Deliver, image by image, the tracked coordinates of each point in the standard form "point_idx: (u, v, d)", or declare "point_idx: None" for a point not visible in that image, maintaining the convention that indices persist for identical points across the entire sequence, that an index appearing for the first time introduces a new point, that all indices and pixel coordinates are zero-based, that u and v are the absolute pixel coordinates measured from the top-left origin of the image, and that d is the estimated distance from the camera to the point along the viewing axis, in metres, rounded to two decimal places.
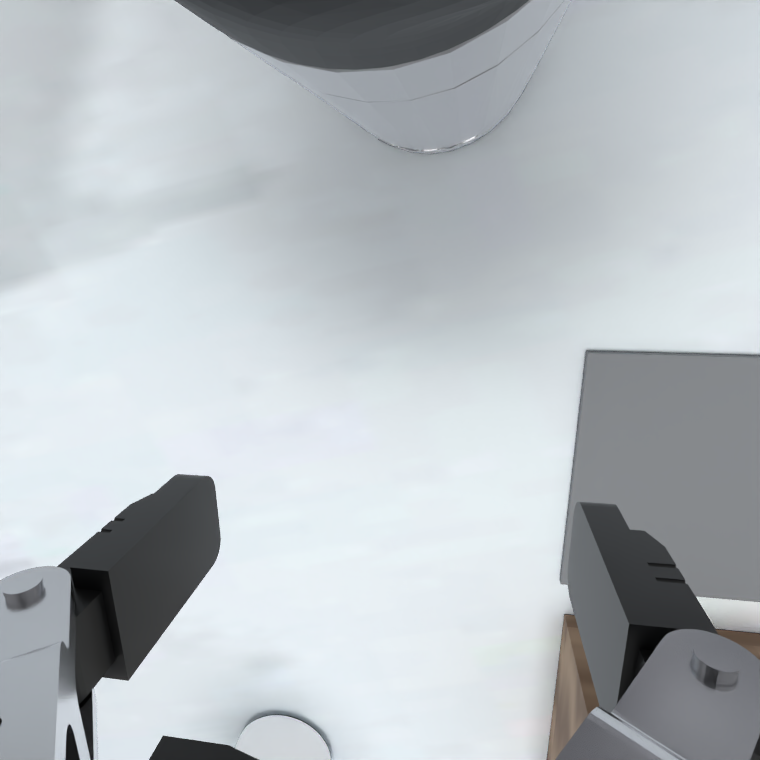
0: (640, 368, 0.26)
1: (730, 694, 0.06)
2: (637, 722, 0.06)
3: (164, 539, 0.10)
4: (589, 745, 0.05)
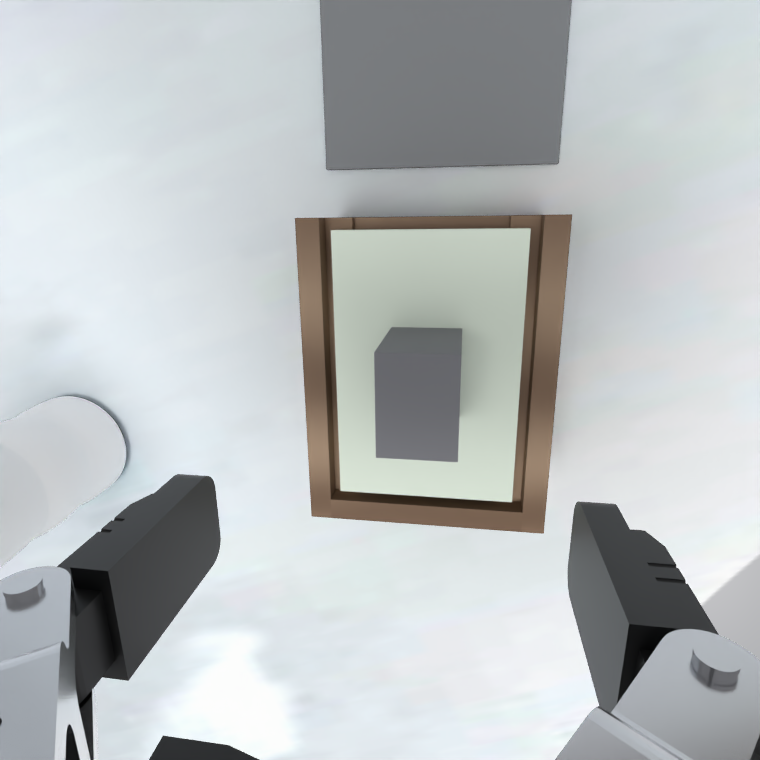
0: None
1: (730, 694, 0.06)
2: (637, 722, 0.06)
3: (165, 539, 0.10)
4: (589, 745, 0.05)
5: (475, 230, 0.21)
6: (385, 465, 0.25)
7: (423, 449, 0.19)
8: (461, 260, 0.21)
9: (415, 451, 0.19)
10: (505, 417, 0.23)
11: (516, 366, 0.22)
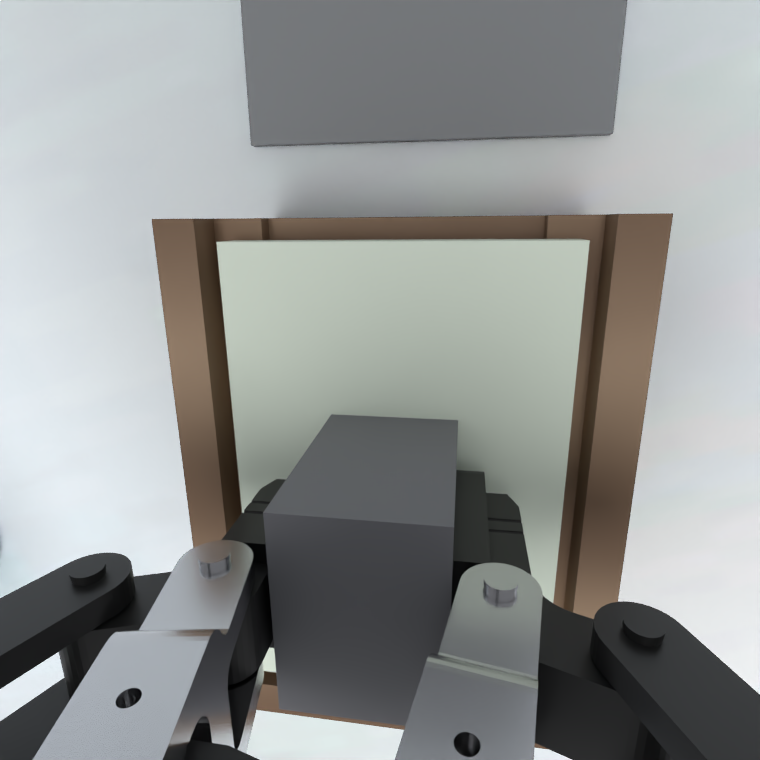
0: None
1: (500, 606, 0.07)
2: (459, 655, 0.07)
3: None
4: (433, 688, 0.06)
5: (482, 243, 0.11)
6: None
7: (375, 702, 0.09)
8: (456, 299, 0.11)
9: (358, 705, 0.09)
10: (534, 572, 0.13)
11: (555, 488, 0.12)
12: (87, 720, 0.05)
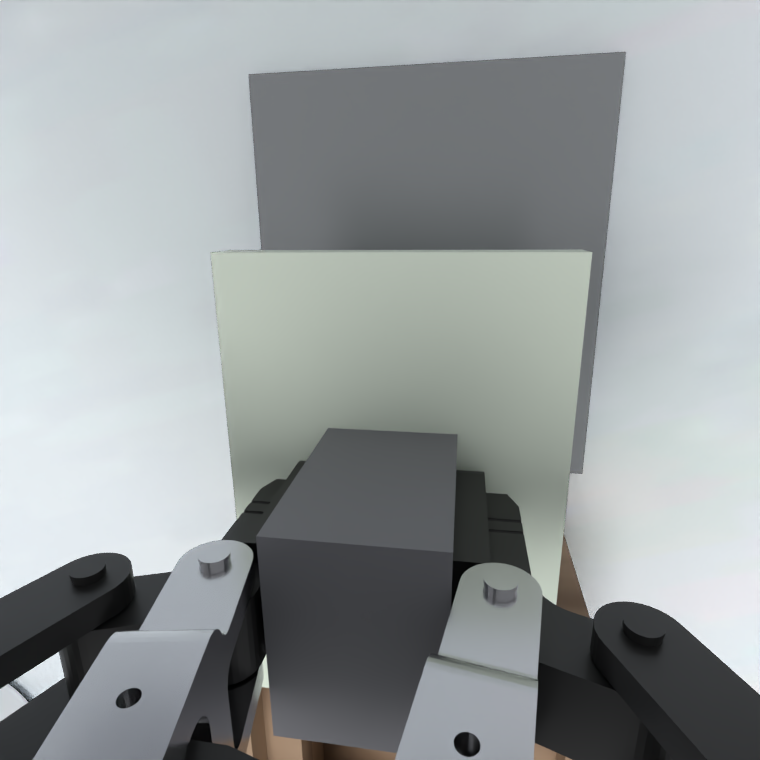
0: (323, 94, 0.18)
1: (500, 606, 0.07)
2: (458, 655, 0.07)
3: None
4: (433, 688, 0.06)
5: (482, 255, 0.11)
6: None
7: (371, 730, 0.09)
8: (455, 311, 0.11)
9: (354, 732, 0.09)
10: None
11: (556, 503, 0.12)
12: (87, 720, 0.05)
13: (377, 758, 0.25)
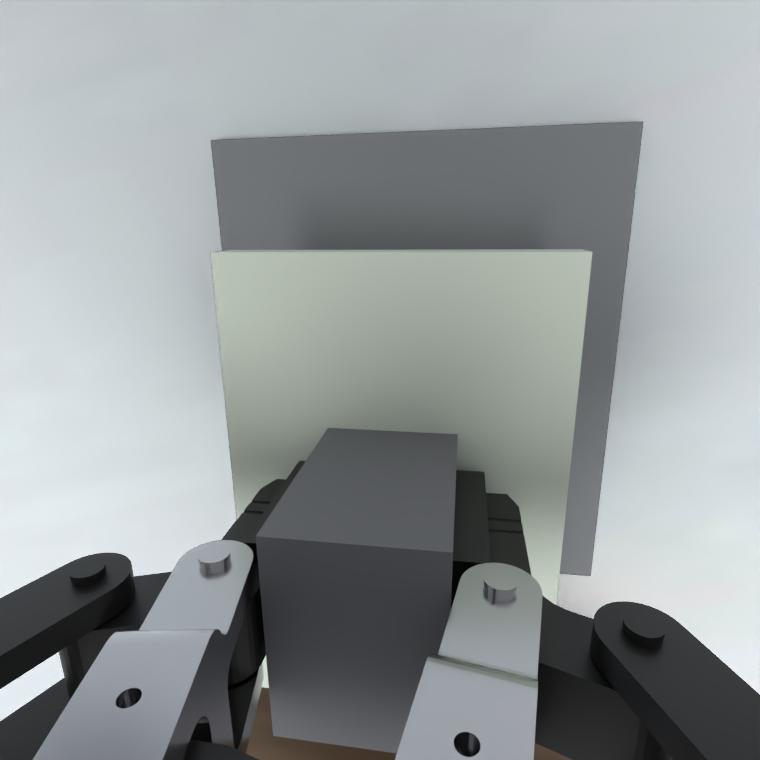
0: (296, 164, 0.15)
1: (500, 607, 0.07)
2: (459, 655, 0.07)
3: None
4: (433, 688, 0.06)
5: (482, 254, 0.11)
6: None
7: (371, 730, 0.09)
8: (455, 311, 0.11)
9: (355, 732, 0.09)
10: None
11: (557, 503, 0.12)
12: (87, 720, 0.05)
13: None
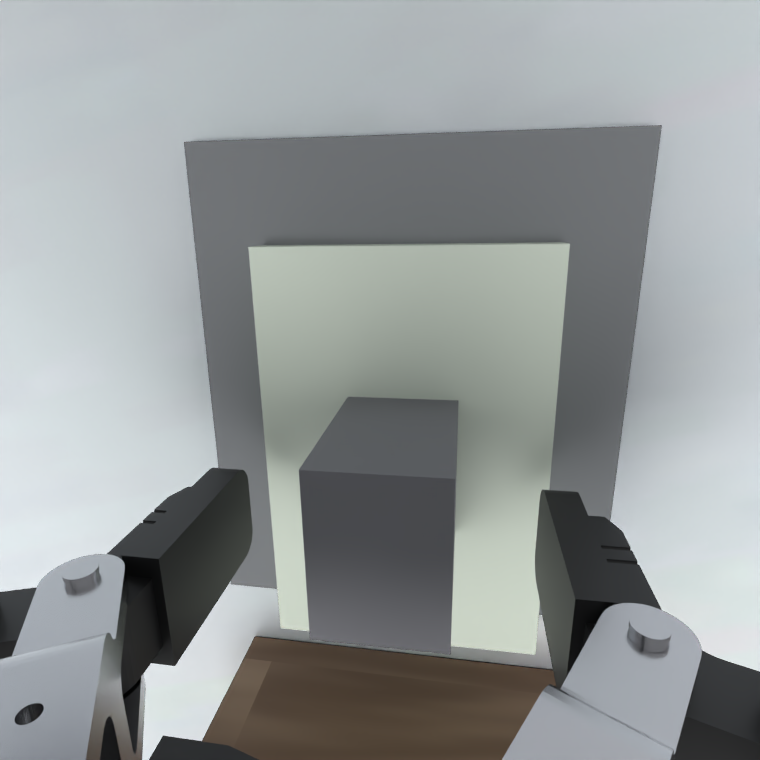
0: (277, 168, 0.14)
1: (658, 659, 0.06)
2: (584, 695, 0.06)
3: (206, 530, 0.10)
4: (544, 722, 0.05)
5: (478, 247, 0.13)
6: None
7: (390, 631, 0.11)
8: (456, 295, 0.13)
9: (376, 633, 0.11)
10: (526, 534, 0.15)
11: (543, 459, 0.14)
12: None
13: None
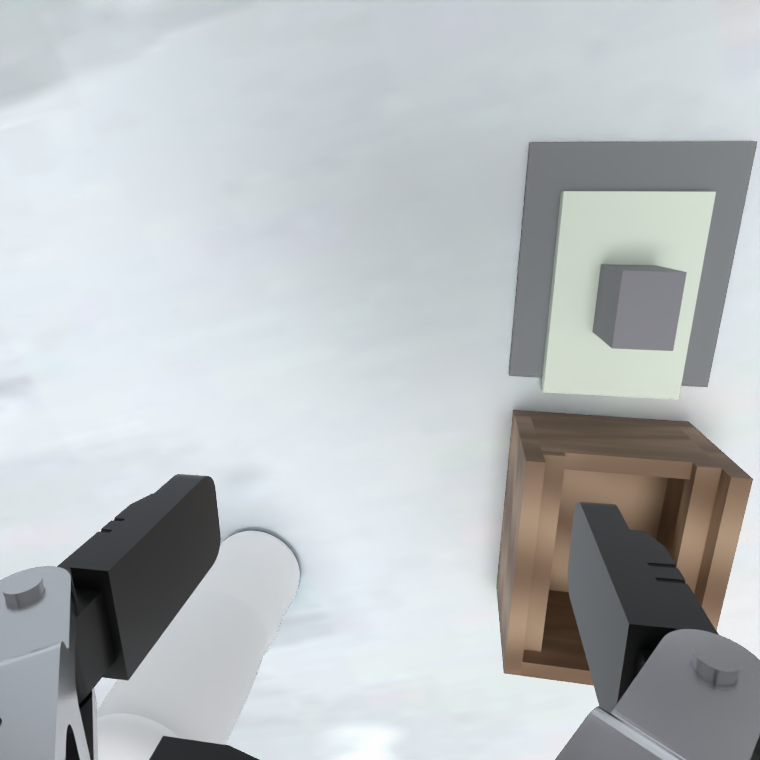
0: (575, 156, 0.30)
1: (730, 694, 0.06)
2: (637, 722, 0.06)
3: (165, 539, 0.10)
4: (589, 745, 0.05)
5: (674, 192, 0.29)
6: (581, 371, 0.33)
7: (648, 341, 0.27)
8: (661, 214, 0.30)
9: (642, 343, 0.27)
10: (680, 333, 0.31)
11: (693, 294, 0.31)
12: None
13: (550, 581, 0.38)
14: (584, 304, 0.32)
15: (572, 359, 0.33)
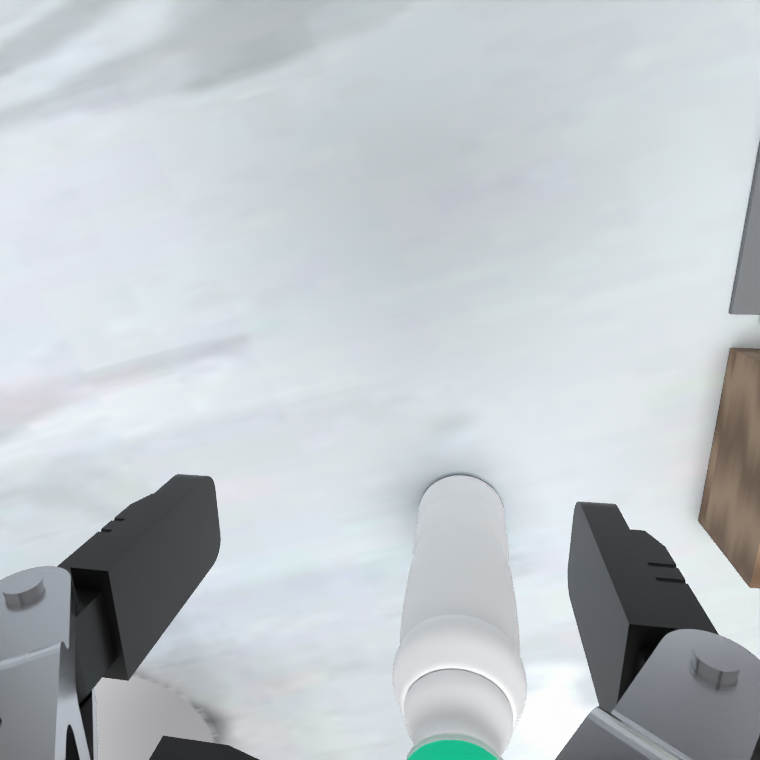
0: None
1: (730, 694, 0.06)
2: (638, 722, 0.06)
3: (165, 539, 0.10)
4: (590, 745, 0.05)
5: None
6: None
7: None
8: None
9: None
10: None
11: None
12: None
13: None
14: None
15: None
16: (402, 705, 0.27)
